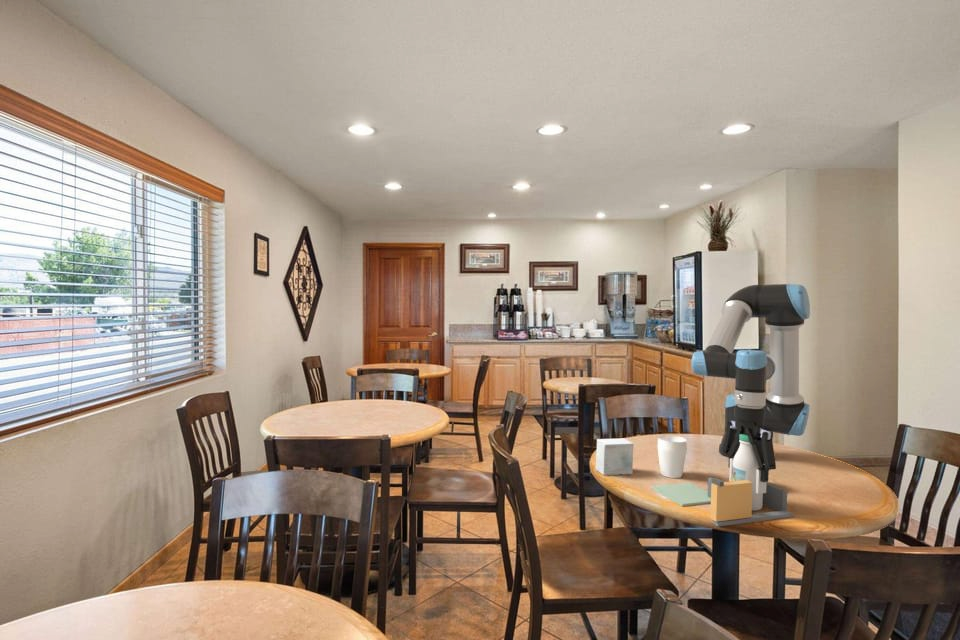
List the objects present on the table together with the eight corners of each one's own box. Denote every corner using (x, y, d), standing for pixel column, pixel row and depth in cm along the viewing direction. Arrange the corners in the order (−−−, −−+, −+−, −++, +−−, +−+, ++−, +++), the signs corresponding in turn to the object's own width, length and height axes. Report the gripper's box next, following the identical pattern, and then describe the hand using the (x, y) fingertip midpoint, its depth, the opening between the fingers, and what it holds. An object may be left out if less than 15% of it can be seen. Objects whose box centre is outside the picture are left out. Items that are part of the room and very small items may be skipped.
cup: (688, 480, 157) (689, 443, 157) (658, 478, 159) (659, 441, 159) (682, 471, 166) (683, 436, 166) (654, 469, 168) (655, 434, 167)
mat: (689, 484, 154) (690, 482, 154) (723, 501, 140) (723, 499, 140) (651, 488, 150) (651, 486, 150) (682, 506, 136) (682, 504, 136)
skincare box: (603, 476, 160) (604, 444, 160) (595, 469, 166) (596, 438, 166) (633, 474, 162) (634, 442, 162) (623, 468, 169) (624, 437, 168)
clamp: (746, 494, 146) (747, 474, 146) (794, 516, 131) (795, 494, 131) (675, 502, 139) (676, 481, 139) (717, 526, 124) (718, 502, 124)
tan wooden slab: (744, 513, 129) (745, 474, 129) (752, 517, 126) (754, 478, 126) (709, 517, 126) (710, 478, 126) (717, 522, 123) (718, 481, 123)
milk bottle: (759, 502, 140) (761, 432, 139) (765, 513, 133) (767, 439, 132) (729, 498, 142) (731, 430, 142) (733, 509, 135) (735, 436, 135)
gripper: (710, 399, 146) (708, 474, 147) (771, 414, 126) (768, 502, 126) (731, 398, 148) (728, 472, 149) (794, 413, 128) (791, 500, 128)
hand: (747, 486), depth 137 cm, fingers open, 9 cm apart
